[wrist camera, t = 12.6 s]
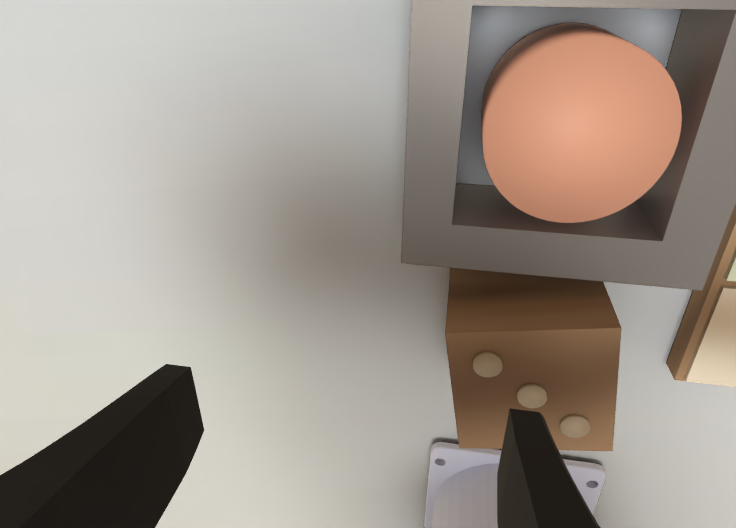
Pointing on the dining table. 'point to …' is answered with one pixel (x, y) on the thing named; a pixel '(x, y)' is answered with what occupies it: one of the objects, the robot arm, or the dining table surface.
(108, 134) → the dining table surface
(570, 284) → the die
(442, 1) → the frame
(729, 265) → the track board
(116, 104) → the dining table surface
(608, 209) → the plunger
